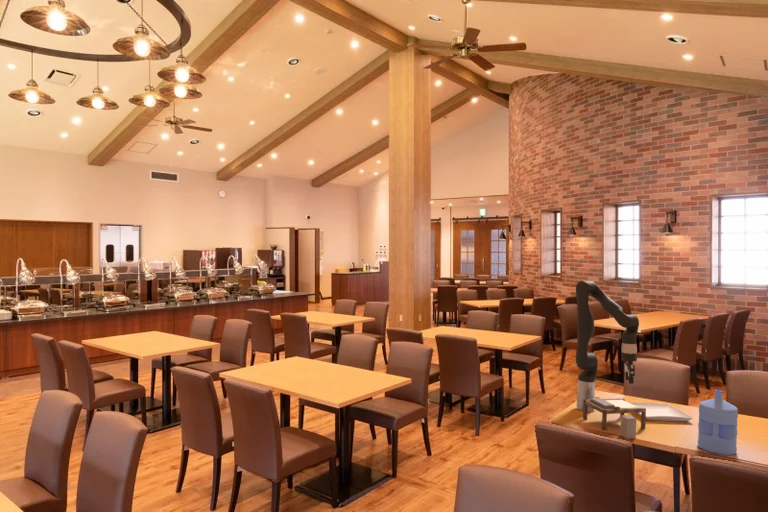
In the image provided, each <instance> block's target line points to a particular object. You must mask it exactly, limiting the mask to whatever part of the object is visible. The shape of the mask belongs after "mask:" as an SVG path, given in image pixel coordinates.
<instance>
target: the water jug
mask: <svg viewBox="0 0 768 512" xmlns="http://www.w3.org/2000/svg"><path fill="white" fill-rule="evenodd" d="M714 391H715V392H714V398H711V399H710V398H709V399H707V400H702V401H699V404H698V405H699V406H698V424H697V425H698V426H697V428H698V437H697V446H698V447H699V448H700V449H701V448H702V449H701V450H704V451H705V450H706V451H705V452H707V453H711V452H712V454H715V453H716V455H723V456H730V455H732V456H733V455H735V454H737V451H738V449H737V448H738V447H737V445H738V444H737V441H738V440H737V438H738V437H737V436H738V418H739V412H738V410H739V409H738V407H736V406H735V405H734V404H731V403H729V402H728V401H726V400H724V399H723V392H724V391H723V390H721V389H715V390H714Z"/></svg>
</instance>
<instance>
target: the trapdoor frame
mask: <svg viewBox="0 0 768 512" xmlns="http://www.w3.org/2000/svg"><path fill="white" fill-rule="evenodd" d="M595 398H600V397H599V396H595ZM602 399H603V400H624V401H626V399H625V398H623V397H621V398H602ZM588 406H589V407H591V408H593V409H594V411H598V412H599V413H602V414H601V418H602V419H601V430H602V431H607V421H608V420H607V419H608V415H614V414H617V415H618V414H619V417H620V418H621V415H625V414H635V413H636V414H637V413H641V416H640V428H641V427H642V428H641V429H646V420H647V419H646V408H624V409H620V407H618V406H617V407H615V409H604V408H602V407H600V406H598V405H596V404H594V403H592V402H591V400H584V405H583V411H582V412H583V414H582V419H583V420H584V421H585V420H588V412H587V407H588Z"/></svg>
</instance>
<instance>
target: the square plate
mask: <svg viewBox="0 0 768 512" xmlns="http://www.w3.org/2000/svg"><path fill="white" fill-rule="evenodd" d="M627 402H628V403H630V404H633V405H635V406H637V407H639V408H646V420H649V421H653V420H660V421H659V422H687V421H688V422H689V421H691V420H692V419H694V416H691V415H690V414H688V413H686V412H684V411H683V410H681V409H679V408H677V407H676V406H673V405H672V404H669V403H659V402H648V401H647V402H640V401H637V402H635V401H630V402H629V401H627ZM636 414H637V415H638V416H640V417H641V413H636Z"/></svg>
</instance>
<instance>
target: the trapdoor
mask: <svg viewBox="0 0 768 512" xmlns="http://www.w3.org/2000/svg"><path fill="white" fill-rule="evenodd" d="M603 399H604V398H601V397H599V398H591V402H592V403H594V404H596V405H598V406H600V407H602V408H604V409H615V407H617V406H618V407H620V409H624V408H639V407H637V406H635V405H633V404H630V403H628V402H629V401H626V400H625V401H624V400H603Z"/></svg>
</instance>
